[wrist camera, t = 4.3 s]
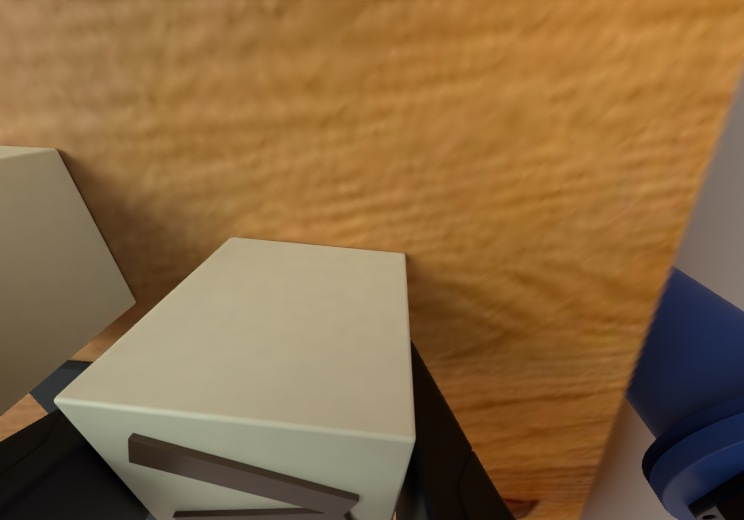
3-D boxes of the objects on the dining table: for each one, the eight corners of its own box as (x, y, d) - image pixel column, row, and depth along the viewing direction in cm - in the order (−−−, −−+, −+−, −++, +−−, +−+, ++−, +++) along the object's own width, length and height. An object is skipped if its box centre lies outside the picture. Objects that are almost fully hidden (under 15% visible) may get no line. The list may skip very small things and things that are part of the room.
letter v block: (405, 252, 8) (417, 449, 4) (388, 368, 11) (382, 563, 6) (230, 235, 8) (40, 408, 4) (255, 354, 11) (160, 537, 6)
